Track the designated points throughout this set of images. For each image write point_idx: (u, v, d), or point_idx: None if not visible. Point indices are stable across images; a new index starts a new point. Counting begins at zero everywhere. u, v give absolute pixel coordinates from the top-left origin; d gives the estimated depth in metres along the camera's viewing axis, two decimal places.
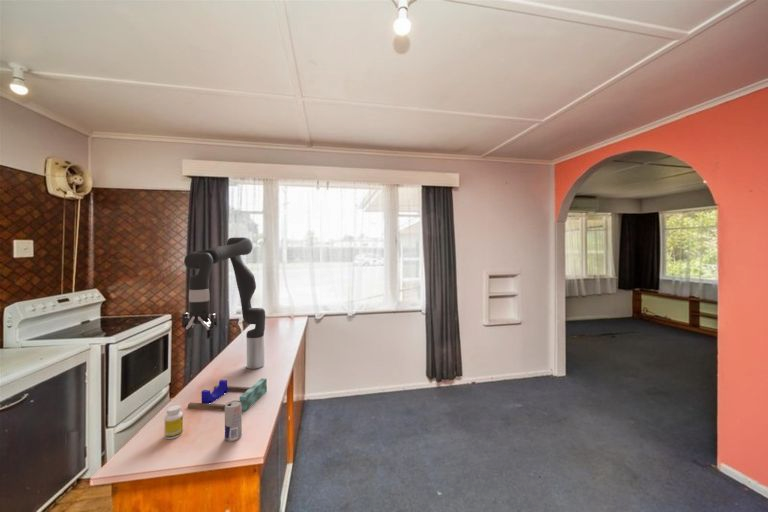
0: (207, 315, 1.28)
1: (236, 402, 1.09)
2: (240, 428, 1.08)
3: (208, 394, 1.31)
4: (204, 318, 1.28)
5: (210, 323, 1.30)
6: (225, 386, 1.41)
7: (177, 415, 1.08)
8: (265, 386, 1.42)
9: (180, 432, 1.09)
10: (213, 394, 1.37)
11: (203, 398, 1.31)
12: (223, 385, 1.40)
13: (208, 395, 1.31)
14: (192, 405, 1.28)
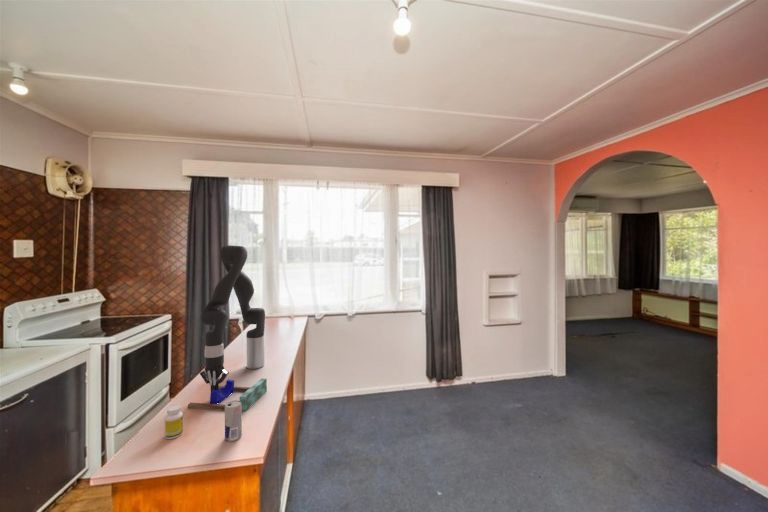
0: (221, 371, 1.35)
1: (236, 402, 1.09)
2: (240, 428, 1.08)
3: (217, 394, 1.30)
4: (217, 374, 1.35)
5: (219, 378, 1.37)
6: (232, 386, 1.41)
7: (177, 415, 1.08)
8: (265, 386, 1.42)
9: (180, 432, 1.09)
10: (220, 394, 1.37)
11: (212, 398, 1.30)
12: (230, 385, 1.40)
13: (217, 395, 1.30)
14: (192, 405, 1.28)
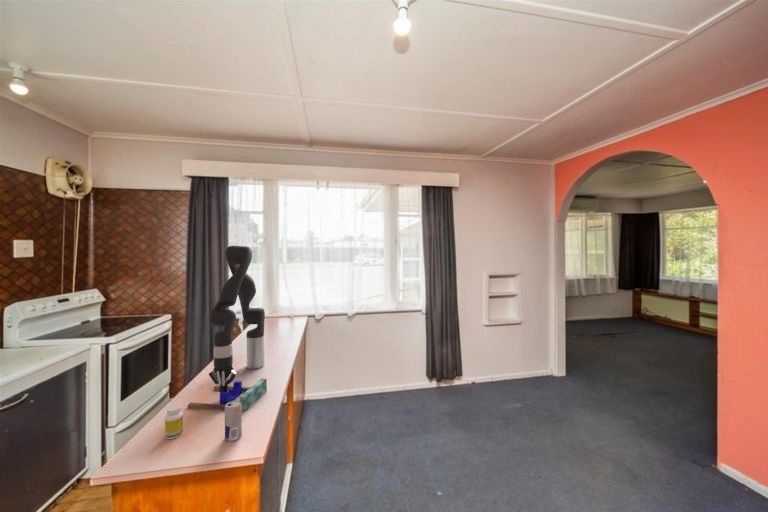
0: (230, 371, 1.35)
1: (236, 402, 1.09)
2: (240, 428, 1.08)
3: (227, 395, 1.29)
4: (226, 375, 1.35)
5: (227, 379, 1.37)
6: (240, 387, 1.40)
7: (177, 415, 1.08)
8: (265, 386, 1.42)
9: (180, 432, 1.09)
10: (229, 396, 1.36)
11: (222, 400, 1.29)
12: (238, 386, 1.39)
13: (227, 396, 1.29)
14: (192, 405, 1.28)
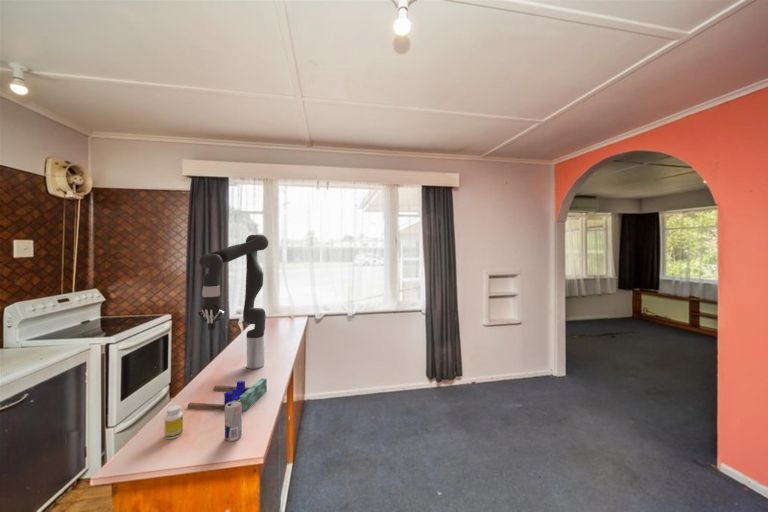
0: (218, 310, 1.48)
1: (236, 402, 1.09)
2: (240, 428, 1.08)
3: (232, 395, 1.30)
4: (214, 313, 1.48)
5: None
6: (243, 387, 1.40)
7: (177, 415, 1.08)
8: (265, 386, 1.42)
9: (180, 432, 1.09)
10: None
11: (226, 400, 1.29)
12: (241, 386, 1.39)
13: (232, 396, 1.30)
14: (192, 405, 1.28)
